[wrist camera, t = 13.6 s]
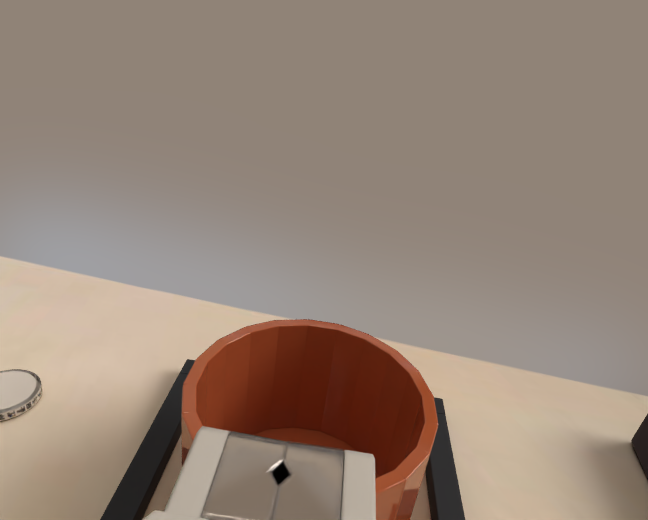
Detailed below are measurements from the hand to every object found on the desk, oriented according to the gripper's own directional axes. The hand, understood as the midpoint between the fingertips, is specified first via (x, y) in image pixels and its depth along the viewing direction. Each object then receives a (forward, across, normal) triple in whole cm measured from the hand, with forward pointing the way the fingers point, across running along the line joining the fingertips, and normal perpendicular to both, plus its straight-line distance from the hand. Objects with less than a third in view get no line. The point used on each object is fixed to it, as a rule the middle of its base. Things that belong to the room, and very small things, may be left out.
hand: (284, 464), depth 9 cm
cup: (+11, 0, +17) cm, 20 cm away
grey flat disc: (+16, +18, +17) cm, 30 cm away
